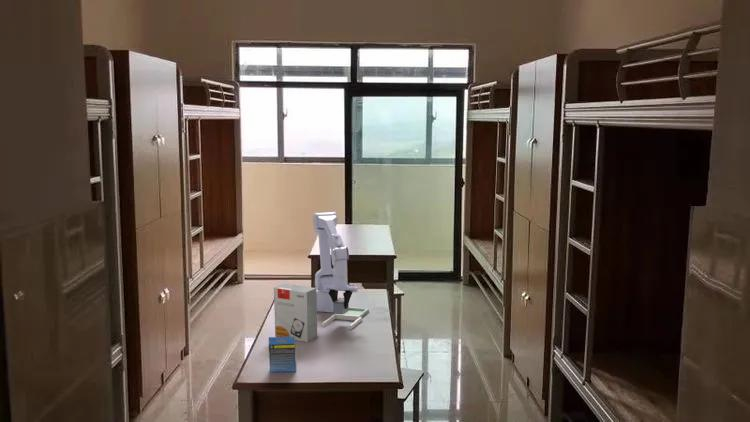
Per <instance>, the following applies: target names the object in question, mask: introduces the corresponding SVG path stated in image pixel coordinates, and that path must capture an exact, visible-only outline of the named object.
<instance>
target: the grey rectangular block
mask: <svg viewBox="0 0 750 422" xmlns="http://www.w3.org/2000/svg"><path fill="white" fill-rule="evenodd" d="M349 305H350V304H348V308H347V309H345V307H344V297H338V299H337V300H335V301H334V302H333V312H332V314H333V315H335V314H342V315H343V314H344V313H345V312H346V311H348V310H349V307H350V306H349Z"/></svg>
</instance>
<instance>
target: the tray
mask: <svg viewBox="0 0 750 422" xmlns="http://www.w3.org/2000/svg"><path fill="white" fill-rule="evenodd" d="M369 312H370V309H369V308H365V307H355V306H354V307H353V306H349V310H348V311H346V312H345V313H344V314H343V315H355V316H360V317H362V318H363V317H364V316H366V315H367V314H368V313H369Z"/></svg>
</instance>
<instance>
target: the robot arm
mask: <svg viewBox="0 0 750 422" xmlns="http://www.w3.org/2000/svg"><path fill="white" fill-rule="evenodd" d="M312 217H313V218H312V225H313V232H316V233H317V235H318V245H319V246H318V247H319V248H318V249H319V259H320V269H319V270H318V271H316V273H315V274H314V277H315V278H314V288H316V292H317V312H321V313H322V312H323V313H333V302H334V301H335V300H337V299H338V298H339V291H340V292H343V293H342V295H343V298H344V307H345V309H347V308H348V304H349V303H350V300H351V297H352V295H353V293H358V292H359V287H358V286H354V285H349V284H348V261H349V257H350V252H349V248H348V246H347V245H346V244H344V241H343V239H342V236H341V235H340V234H339V233H338V232H337V228H336V227H337V225H338V214H337V213H336V211H331V212H330V211H329V212H314V214H313V216H312ZM349 305H350V304H349Z"/></svg>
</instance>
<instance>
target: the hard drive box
mask: <svg viewBox="0 0 750 422" xmlns="http://www.w3.org/2000/svg"><path fill="white" fill-rule="evenodd" d="M316 290H317V289H316V287H312V286H305V285H304V286H303V285H295V284H289V283H282V284H280V285H278V286H275V287H273V299H274V300H273V302H274V329H275V330H274V333H275V334H274V335H275V336H274V337H294V341H298V342H304V343H308V342H310V341H312V340H314V339H316V338H318V311H317V292H316Z"/></svg>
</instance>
